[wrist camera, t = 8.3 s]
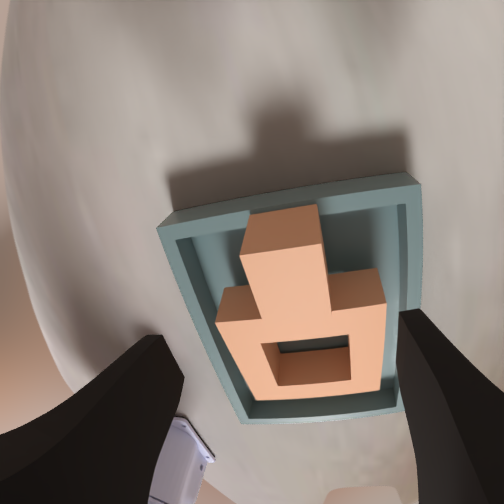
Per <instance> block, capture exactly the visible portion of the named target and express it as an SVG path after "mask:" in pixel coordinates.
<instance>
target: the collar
mask: <svg viewBox="0 0 504 504" xmlns="http://www.w3.org/2000/svg"><path fill="white" fill-rule="evenodd" d="M239 256H240V259H241V262H242V265H243V267H244V270H245V273H246V276H247V279H248V281H249V284H250V285H243V286H234V287H226V288H224V291H223V294H222V298H221V302H220V305H219V309H218V313H217V316H216V320H215V324H216V326H217V328H218V330H219V332H220V334H221V336H222V338H223V340H224V341H225V343H226V345H227V347H228V349H229V351H230V353H231V355H232V357H233V359H234V360H235V362H236V364H237V366H238V368H239V370H240V372H241V373H242V375H243V377H244V379H245V381H246V383H247V384H248V386H249V388H250V390H251V392H252V393H253V395H254V397H255V399H256V400H282V399H300V398H314V397H326V396H336V395H345V394H354V393H362V392H369V391H376V390H380V382H381V373H382V364H383V353H384V341H385V327H386V308H387V302H386V299H385V295H384V291H383V287H382V283H381V280H380V276H379V273H378V269H377V268H371V269H365V270H358V271H351V272H344V273H337V274H329V275H328V268H327V261H326V255H325V249H324V242H323V236H322V230H321V224H320V219H319V213H318V207H317V204H313V205H306V206H300V207H294V208H288V209H282V210H276V211H270V212H264V213H258V214H252V215H249V219H248V223H247V227H246V231H245V235H244V239H243V243H242V247H241V251H240V255H239ZM340 335H348V347H343V348H334V349H326V350H316V351H306V352H295V353H283V354H281V353H280V351H279V348H278V345H277V342H284V341H295V340H305V339H315V338H324V337H332V336H340Z"/></svg>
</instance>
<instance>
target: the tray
mask: <svg viewBox="0 0 504 504" xmlns="http://www.w3.org/2000/svg"><path fill="white" fill-rule="evenodd" d="M313 204H317V207H318V213H319V219H320V224H321V230H322V236H323V242H324V249H325V255H326V261H327V268H328V275H329V274H337V273H344V272H351V271H358V270H365V269H371V268H377V269H378V273H379V276H380V280H381V283H382V287H383V291H384V295H385V299H386V302H387V308H386V327H385V341H384V353H383V364H382V373H381V382H380V390H376V391H369V392H362V393H354V394H345V395H336V396H326V397H314V398H300V399H282V400H256V399H255V397H254V395H253V393H252V392H251V390H250V388H249V386H248V384H247V383H246V381H245V379H244V377H243V375H242V373H241V372H240V370H239V368H238V366H237V364H236V362H235V360H234V359H233V357H232V355H231V353H230V351H229V349H228V347H227V345H226V343H225V341H224V340H223V338H222V336H221V334H220V332H219V330H218V328H217V326H216V324H215V320H216V316H217V313H218V309H219V305H220V302H221V298H222V294H223V291H224V288H226V287H234V286H243V285H250V284H249V281H248V279H247V276H246V273H245V270H244V267H243V265H242V262H241V259H240V256H239V255H240V251H241V247H242V243H243V239H244V235H245V231H246V227H247V223H248V219H249V215H252V214H258V213H264V212H270V211H276V210H282V209H288V208H294V207H300V206H306V205H313ZM156 229H157V232H158V235H159V237H160V240H161V243H162V245H163V248H164V251H165V253H166V256H167V259H168V261H169V264H170V266H171V269H172V272H173V274H174V277H175V279H176V282H177V284H178V287H179V289H180V292H181V294H182V296H183V299H184V301H185V304H186V306H187V309H188V311H189V313H190V316H191V318H192V320H193V323H194V325H195V327H196V330H197V332H198V334H199V336H200V339H201V341H202V343H203V345H204V348H205V350H206V352H207V354H208V357H209V359H210V361H211V363H212V365H213V367H214V370H215V372H216V374H217V376H218V378H219V380H220V382H221V384H222V386H223V388H224V391H225V393H226V395H227V397H228V399H229V401H230V403H231V405H232V407H233V409H234V411H235V413H236V415H237V417H238V419H239V421H240V423H241V424H292V423H311V422H325V421H336V420H346V419H355V418H363V417H371V416H378V415H384V414H390V413H396V412H402V411H405V409H404V405H403V401H402V397H401V393H400V387H399V381H398V374H397V367H396V351H397V337H398V316H399V312H400V311H406V310H411V309H417V308H419V309H420V305H421V290H422V267H423V216H422V194H421V184H420V183H419V182H418V181H417V180H415V179H414V178H413V177H412V176H411V175H409V174H408V173H407V172H401V173H393V174H385V175H378V176H370V177H363V178H356V179H349V180H342V181H336V182H329V183H323V184H316V185H310V186H304V187H298V188H292V189H286V190H281V191H275V192H269V193H264V194H258V195H253V196H248V197H242V198H237V199H232V200H227V201H222V202H217V203H212V204H207V205H202V206H198V207H193V208H188V209H184V210H179V211H174V212H172V213H171V214H170V215H169V216H168V217H167V218H166V219H165V220H164V221H163V222H162V223H161V224H160V225H159V226H158V227H157V228H156ZM277 345H278V348H279V351H280V353H281V354H283V353H295V352H306V351H316V350H326V349H334V348H343V347H348V335H340V336H332V337H324V338H315V339H305V340H295V341H284V342H277Z"/></svg>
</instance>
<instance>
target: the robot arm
mask: <svg viewBox="0 0 504 504" xmlns="http://www.w3.org/2000/svg"><path fill="white" fill-rule="evenodd" d="M396 367H397V374H398V381H399V387H400V393H401V397H402V401H403V405H404V409H405V413H406V417H407V421H408V425H409V429H410V434H411V438H412V443H413V447H414V452H415V458H416V464H417V475H418V493H419V504H504V392H502V391H501V390H500V389H499V388H498V387H497V386H495V385H494V384H493V383H492V382H491V381H490V380H489V379H488V378H486V377H485V376H484V375H483V374H482V373H481V372H480V371H479V370H478V369H477V368H476V367H475V366H474V365H473V364H472V363H471V362H470V361H469V360H468V359H467V358H466V357H465V356H464V355H463V354H462V353H461V352H460V351H459V350H458V349H457V348H456V347H455V346H454V345H453V344H452V343H451V342H450V341H449V340H448V339H447V338H446V337H445V335H444V334H443V333H442V332H441V331H440V330H439V329H438V328H437V327H436V326H435V325H434V323H433V322H432V321H431V320H430V319H429V318H428V317H427V316H426V315H425V313H424V312H423V311H422V310H420V309H419V308H417V309H411V310H406V311H400V312H399V316H398V337H397V351H396ZM184 378H185V377H184V375H183V373H182V371H181V370H180V368H179V366H178V364H177V362H176V360H175V359H174V357H173V355H172V353H171V351H170V349H169V347H168V345H167V343H166V341H165V339H164V337H163V335H146V336H145V337H143V338H142V339H141V340H139V341H138V342H137V343H136V344H134V345H133V346H132V347H131V348H130V349H128V350H127V351H126V352H125V353H124V354H122V355H121V356H120V357H119V358H118V359H117V360H115V361H114V362H113V363H112V364H111V365H110V366H108V367H107V368H106V369H105V370H104V371H103V372H101V373H100V374H99V375H98V376H97V377H95V378H94V379H93V380H92V381H90V382H89V383H88V384H87V385H85V386H84V387H83V388H82V389H80V390H79V391H78V392H77V393H75V394H74V395H73V396H71V397H70V398H68V399H67V400H66V401H64V402H63V403H61V404H60V405H58V406H57V407H55V408H54V409H52V410H50V411H49V412H47V413H45V414H43V415H42V416H40V417H38V418H36V419H34V420H32V421H31V422H29V423H27V424H25V425H23V426H21V427H18V428H16V429H14V430H11V431H9V432H6V433H3V434H1V435H0V504H195V502H196V499H197V496H198V493H199V489H200V486H201V482H202V479H203V476H204V472H205V469H206V465H207V462H211V463H214V462H215V460H216V459H215V458H214V457H213V455H212V454H211V453H210V451H209V450H208V449H207V447H206V446H205V445H204V443H203V442H202V441H201V439H200V438H199V436H198V435H197V434H196V432H195V431H194V430H193V428H192V427H191V425H190V424H189V422H188V421H187V420H186V419H184V418H179V417H174V415H175V413H176V410H177V407H178V404H179V401H180V397H181V392H182V388H183V383H184Z"/></svg>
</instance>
